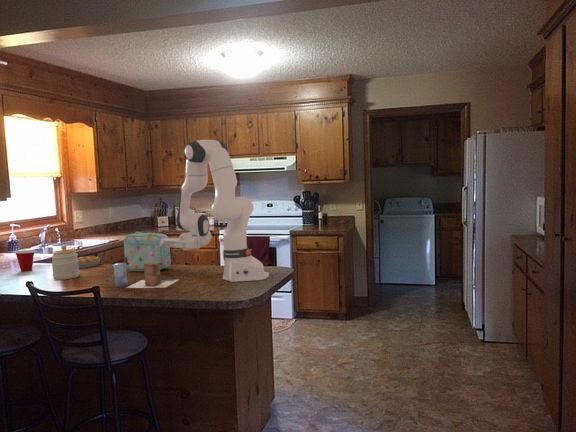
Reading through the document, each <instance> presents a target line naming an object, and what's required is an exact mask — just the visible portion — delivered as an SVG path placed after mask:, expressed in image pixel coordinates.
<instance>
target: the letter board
mask: <svg viewBox="0 0 576 432" xmlns="http://www.w3.org/2000/svg"><path fill="white" fill-rule="evenodd" d="M179 280H180V279H178V278H177V279H176V278H175V279H173V278H172V279H161V284H158V285H155V286H147V285H145V279H141V280H139V281H137V282H135V283H133V284H130V285H128V286H126V287H125V289H144V288H145V289H147V288H149V289H150V288H153V289H154V288H155V289H157V288H159V289H160V288H161V289H162V288H168V287H169V286H171V285H172V284H175V283H176V282H178V281H179Z"/></svg>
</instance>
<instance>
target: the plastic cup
mask: <svg viewBox="0 0 576 432" xmlns="http://www.w3.org/2000/svg"><path fill="white" fill-rule="evenodd" d="M14 253H15V255H16V258H17V263H18V267H19V269H20V271H21V272H30V271H32V270H33V265H34V256H35V253H36V250H33V249H28V250H27V249H26V250H15V251H14Z"/></svg>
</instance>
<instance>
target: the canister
mask: <svg viewBox="0 0 576 432" xmlns="http://www.w3.org/2000/svg"><path fill="white" fill-rule="evenodd" d="M127 270H128V269H127V268H126V263H125V262H117V263H114V264H113V273H114V275H113V276H114V286H115V288H126V287H128V286H129V284H128V283H129V282H128V273H127Z"/></svg>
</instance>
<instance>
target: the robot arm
mask: <svg viewBox="0 0 576 432" xmlns="http://www.w3.org/2000/svg"><path fill="white" fill-rule="evenodd" d="M227 149H228V148H227V145H226V143H225V142H224V141H222V140H220V139H198V140H192V141H189V142H187V143H186V144H185V145H184V151H183V152H184V156H185V158H186V160H185V161H186V162H185V179H184V181H183V183H182V184H181V187H180V190H179V191H180V193H179V199H178V208H177V209H178V210H177V214H176V219H175V222H176V226H177V228H178V229H180V230H182V231H189V232H184V233H183V232H182V233H181V234H180V235H179V237H168V238H167V239H161V241H160V244H159V246H160V247H170V248H174V249H181V250H183V251H189V250H198V249H200V248H202V247H204V246H206V245H209V243H210V242H211V240H212V233H211V231H210V220H209V218H208V216H207V215H205V214H202V213H196V212H191V210H190V206H191V197H192V196H193V194H194V193H197V192H201V190H204V189H205V188H206V186H207V185H208V179H209V178H208V177H209V175H208V166H209V171H210V174H211V179H212V182H213V186H214V193H215V194H214V201H213V203H212V205H211V208H210V209H211V212H210V213H211V216H212V217H213V218H214V219H215V220H216V221H219V222H224V223H225V222H227V224H226V225H227V226H226V228H225V230H224V231H223V235H222V238H223V251H222V254H223V255H222V256H223V261H224V266H223V267H224V268H223V275H222V280H225V281H229V282H230V283H233V282H246V281H247V282H249V281H250V282H251V281H263V280H265V279H268V278H269V277H270V272H269V271H265V267H264V264H263V262H261V261H260V260H259V259H257V258H256V257H254V256H253V255H252V250H253V249H252V248H249V247H248V244H247V243H248V242H247V230H248V223H249V220H250V216H251V214H252V213H253V210H254V203H253V202H252V200H251V199H249V198H248V197H245V196H236V187H237V185H238V179H237V176H236V172H235V167H234V166H233V165H234V164H233V162H232V160H231V156H230V154H229V152H228V150H227Z"/></svg>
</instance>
